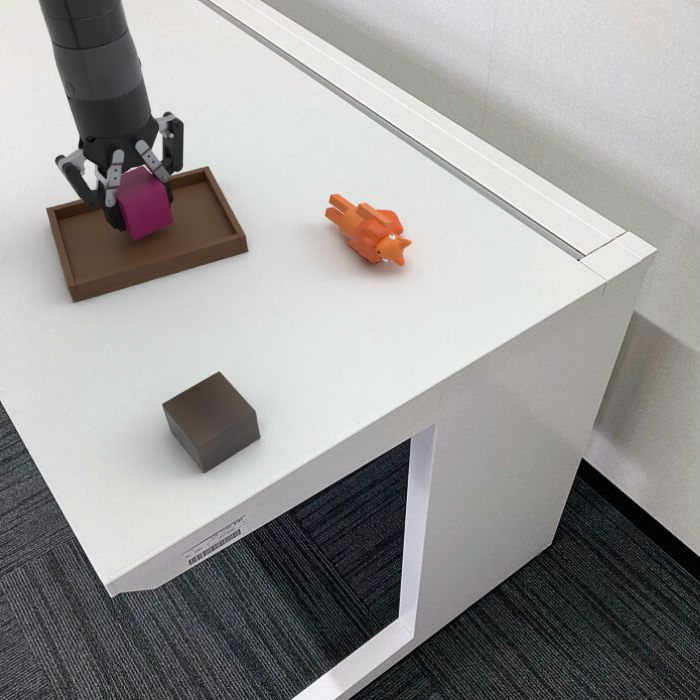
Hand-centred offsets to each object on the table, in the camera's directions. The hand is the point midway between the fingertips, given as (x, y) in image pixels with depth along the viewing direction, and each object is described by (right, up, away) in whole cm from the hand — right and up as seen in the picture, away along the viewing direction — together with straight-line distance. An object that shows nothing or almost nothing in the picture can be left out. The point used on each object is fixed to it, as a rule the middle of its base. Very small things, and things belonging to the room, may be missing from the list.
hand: (142, 216), depth 86 cm
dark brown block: (+11, -23, -16) cm, 30 cm away
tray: (0, -2, +2) cm, 3 cm away
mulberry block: (0, 0, 0) cm, 1 cm away
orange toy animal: (+26, -3, +1) cm, 26 cm away
